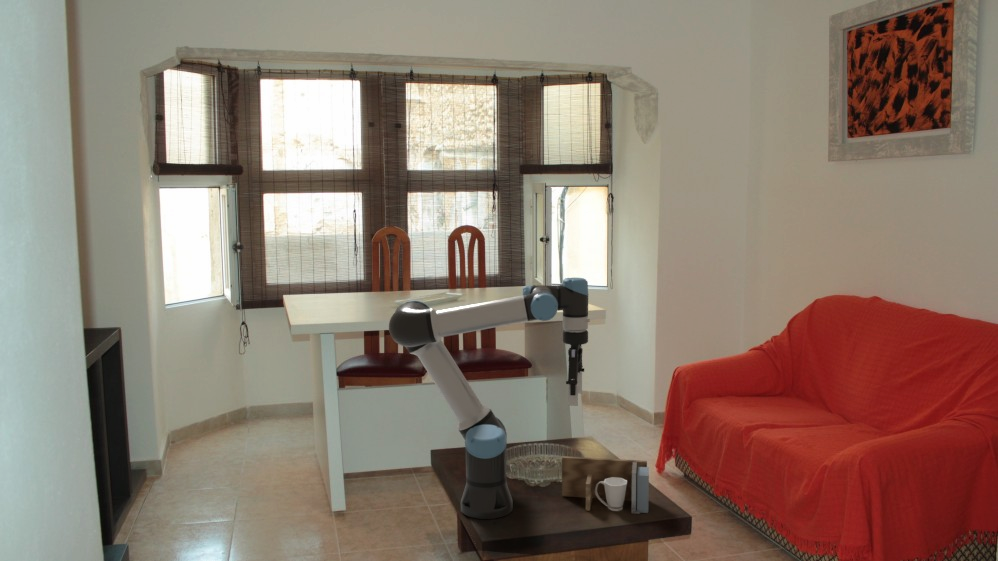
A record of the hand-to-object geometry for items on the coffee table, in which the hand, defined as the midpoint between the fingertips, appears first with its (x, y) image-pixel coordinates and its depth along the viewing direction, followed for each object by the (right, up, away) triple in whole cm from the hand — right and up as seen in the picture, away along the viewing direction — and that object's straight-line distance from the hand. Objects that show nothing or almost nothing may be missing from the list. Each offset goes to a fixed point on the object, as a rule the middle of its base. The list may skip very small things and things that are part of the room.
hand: (575, 399), depth 249 cm
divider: (+3, -30, -7) cm, 31 cm away
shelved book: (+19, -30, -10) cm, 37 cm away
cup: (+9, -30, -9) cm, 33 cm away
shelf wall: (+8, -29, -2) cm, 30 cm away
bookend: (+16, -30, -9) cm, 35 cm away
